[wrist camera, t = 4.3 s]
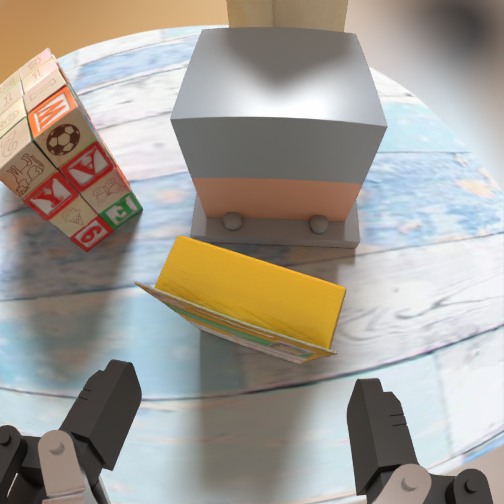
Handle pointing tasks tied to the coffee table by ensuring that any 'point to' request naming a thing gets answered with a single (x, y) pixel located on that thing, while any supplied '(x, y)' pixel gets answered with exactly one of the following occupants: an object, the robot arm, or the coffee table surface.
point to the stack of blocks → (60, 155)
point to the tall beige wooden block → (288, 14)
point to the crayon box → (250, 300)
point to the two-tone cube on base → (278, 135)
